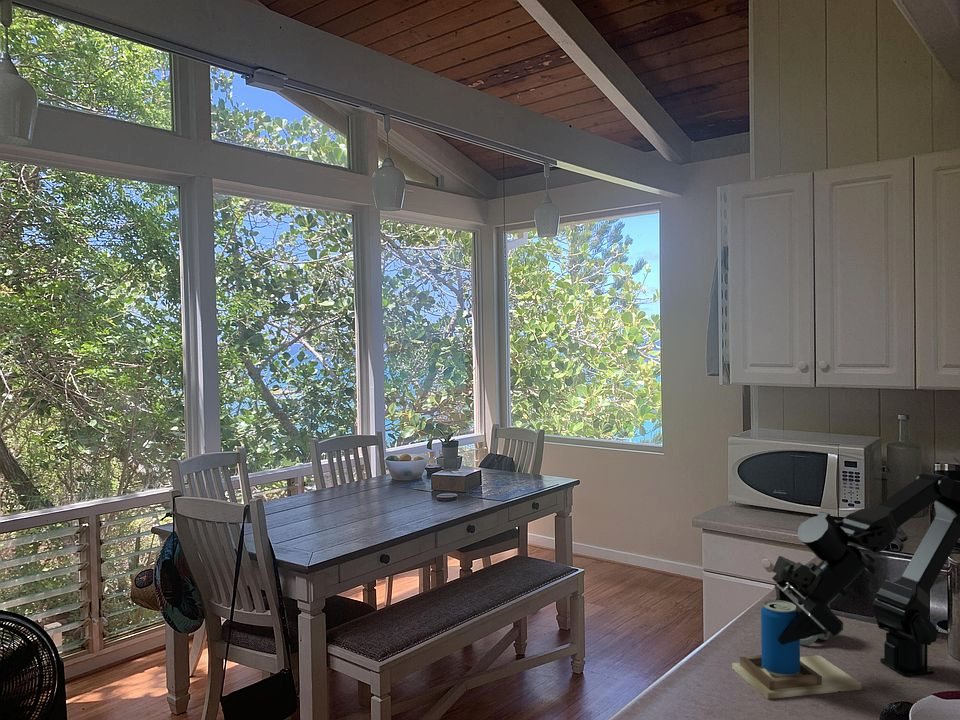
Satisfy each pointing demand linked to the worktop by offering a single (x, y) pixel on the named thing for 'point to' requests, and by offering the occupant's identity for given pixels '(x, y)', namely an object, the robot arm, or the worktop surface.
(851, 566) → the robot arm
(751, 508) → the worktop surface
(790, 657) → the beverage can
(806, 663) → the can holder
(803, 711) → the worktop surface
